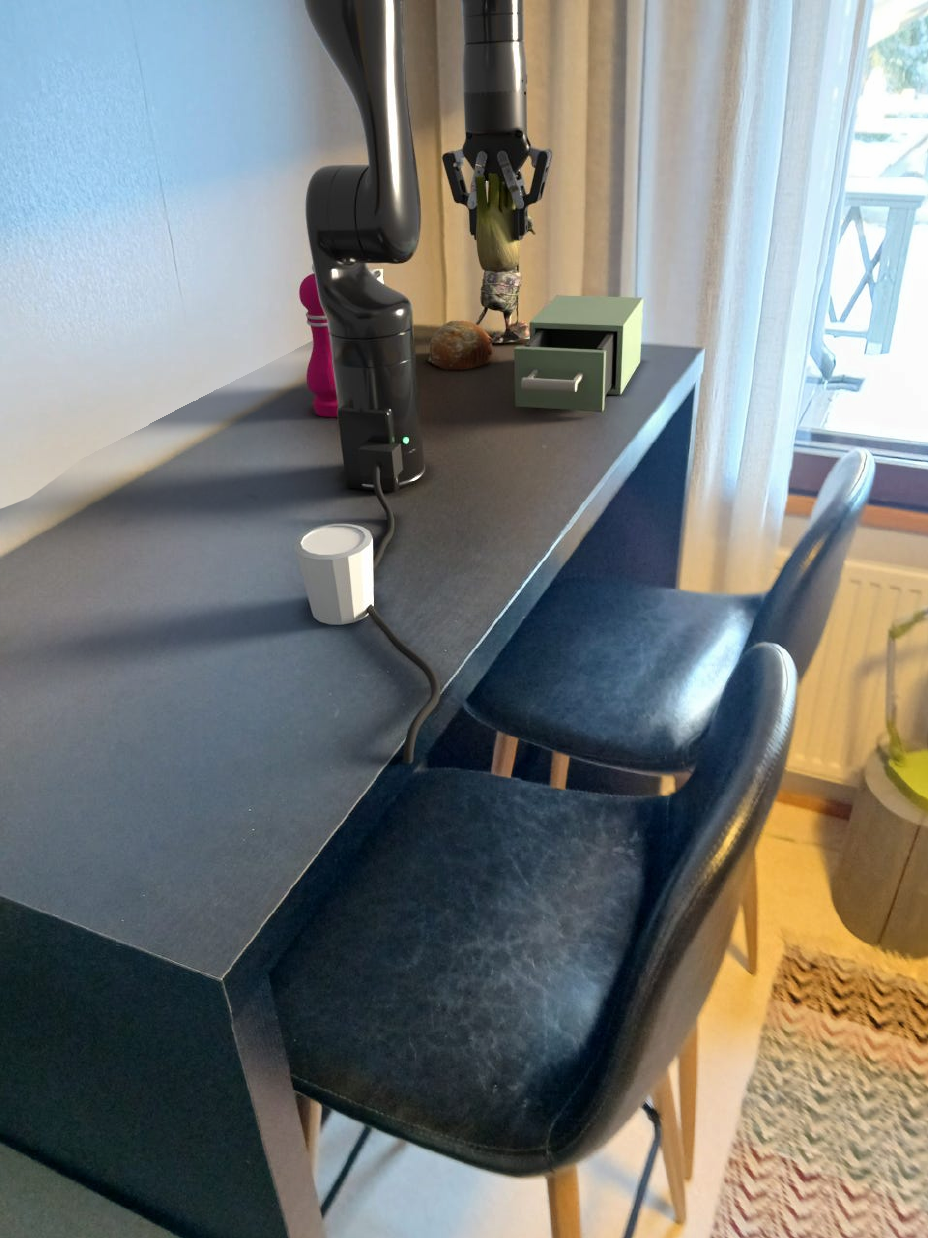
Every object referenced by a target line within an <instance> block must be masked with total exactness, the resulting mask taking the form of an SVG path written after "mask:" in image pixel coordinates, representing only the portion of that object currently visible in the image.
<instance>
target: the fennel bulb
mask: <svg viewBox="0 0 928 1238" xmlns="http://www.w3.org/2000/svg"><path fill="white" fill-rule="evenodd" d="M475 185H476V198H477V227H476V240H475V242H476V253H477V258H478V262H479V265H480V269H482V270H483V271H484V270H486V271H493V272H508V271H511V270H514V269H515V268H516V269H517V266H518V263H519V264H520V257H521V240H520V241H514V229H513V210H514V209H515V204H514V201H513V198H512V195H511V192H510V191H509V189H508V187H507V183H506V181H499V178H498V176H497V174H491V173H489V181H488V184H487V187H488V188H487V187H486V183H485V176H484V175H476V176H475Z"/></svg>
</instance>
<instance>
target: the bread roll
mask: <svg viewBox="0 0 928 1238" xmlns="http://www.w3.org/2000/svg"><path fill="white" fill-rule="evenodd" d="M493 343H494V342H493V339H492V336H490V335H489V334H488V333H487V332H486V331H485V330H484V328H483V327H481V326H480V325H476V323H474V322H471V321H467V320H450V321H448V322H446V323H444V324H442V325H441V326H440V327H439V328H438V329H437V330H436V331H435V332H434V333H433V336H432V338H431V339H430V347H429V351H430V354H429V358H428V362H429V363H431V364H433V365H434V366H436V367H439V368H440V369H443V370H445V371H446V370H447V371H461V370H470V369H474V368H478V367H482V366H484V365H486V364H488V363H490V362H491V360H492V357H493V354H494V348H493Z"/></svg>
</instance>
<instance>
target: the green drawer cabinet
mask: <svg viewBox="0 0 928 1238" xmlns="http://www.w3.org/2000/svg"><path fill="white" fill-rule="evenodd" d="M643 310H644V298H643V297H634V296H633V297H632V296H631V297H629V296H599V295H597V296H595V295H561V294H559V295H558V294H557V295H556V296H554V297H553V298H552V300H551V301H549V302H548V303H547V304H546V305H545V306H544V307H543V308H542V309H541V310H540V311H539V312H538V313H537V314H536V315H535V316H534V317H533V318H531V320H530V321H529V325H528V327H530V328H529V335H530V339H531V338H532V337H533V336H534V335H535V334H536V333H537V332H538V331H539V330H540V329H541V328H545V329H571V330H596V331H618V332H617V357H616V380H615V381H614V383H613V385H612V386H611V388H610V389H609V391H608V393H607V394H606V395H611V396H621V395H622V394H623V392H624V390H625V389H626V387H627V385H628V383H629V381H630V380H631V378H632V376H633V375H634V373H635V371H636V369H637V368H638V366H639V365H640V363H641V350H642V331H643ZM530 339H529V340H530Z"/></svg>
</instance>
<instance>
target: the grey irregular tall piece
mask: <svg viewBox="0 0 928 1238" xmlns="http://www.w3.org/2000/svg"><path fill="white" fill-rule="evenodd" d="M533 226H534V223H533V220H532V217H530V215H529V214H528V231H527V233H529V232H530V233H531V234H532V235H534V236H535V235H536V232H535V230H534V229H533ZM482 277H483V278H482V279H481V280H482V281H481V282H482V284H481V287H480V297H479V300H480V305H481V306H482V307H483V310H482V312H481V313H480V315H479V317H478V320H477V321H476V322H475V324H476V325H478V326H480V324H481V322H483V319H484V318H485V316H486V314H487V313H488V310H491V311H495V312H500V313H502V316H503V319H504V324H505V325H504V326H505V330H503V329H502V330H497V331H493V332H492V333H491V338H492V339H493V343H494V344H498V343H500V344H506V343H513V342H517V341H520V340H530V335H529V328H530V327H529V325H528V324H527V322H526V321H519V294H520V289H521V286H522V280H523V279H522V278H523V276H522V273H521V270H520V262H519V263H518V266H517V267H516V268H515V269H514V270H511V271H508V272H493V271H486V270H483V276H482ZM515 310H516V317H517V319H516V321H515V322H512V316H513V315H512V314H513V313H514V311H515Z"/></svg>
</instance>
